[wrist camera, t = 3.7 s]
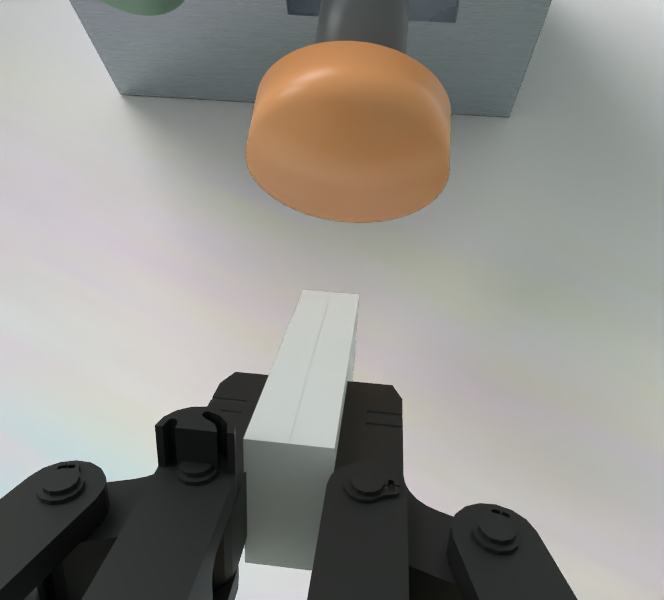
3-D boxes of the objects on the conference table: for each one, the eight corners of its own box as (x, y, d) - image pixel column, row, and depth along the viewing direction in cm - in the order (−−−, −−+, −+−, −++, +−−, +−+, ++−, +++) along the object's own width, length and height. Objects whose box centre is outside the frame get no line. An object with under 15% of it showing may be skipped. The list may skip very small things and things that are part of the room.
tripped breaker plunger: (435, 228, 20) (466, 108, 14) (262, 216, 20) (225, 94, 15) (447, -41, 24) (474, -209, 19) (307, -46, 25) (293, -212, 19)
